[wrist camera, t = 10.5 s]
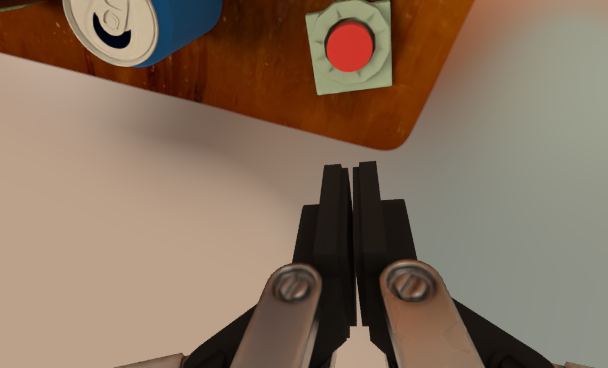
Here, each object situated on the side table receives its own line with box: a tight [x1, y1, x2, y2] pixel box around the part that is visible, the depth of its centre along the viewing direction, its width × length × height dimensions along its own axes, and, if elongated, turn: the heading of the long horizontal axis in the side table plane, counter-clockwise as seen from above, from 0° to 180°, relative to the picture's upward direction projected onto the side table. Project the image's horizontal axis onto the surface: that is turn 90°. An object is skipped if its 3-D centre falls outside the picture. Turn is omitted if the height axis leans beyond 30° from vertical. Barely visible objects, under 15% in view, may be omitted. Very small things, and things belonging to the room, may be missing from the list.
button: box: [327, 21, 373, 72], centre depth 27 cm, size 4×4×2 cm
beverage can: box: [62, 0, 222, 67], centre depth 25 cm, size 6×6×12 cm
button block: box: [305, 0, 392, 95], centre depth 29 cm, size 8×7×3 cm
